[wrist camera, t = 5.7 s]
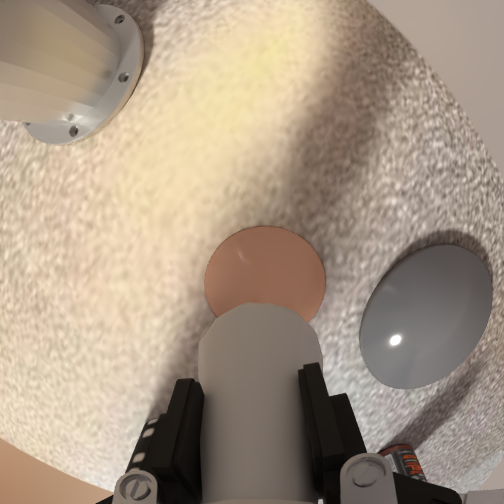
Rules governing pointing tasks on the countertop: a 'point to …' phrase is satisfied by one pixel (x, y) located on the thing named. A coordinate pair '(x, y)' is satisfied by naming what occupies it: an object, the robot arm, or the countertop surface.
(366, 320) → the slate plate
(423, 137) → the countertop surface
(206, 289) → the terracotta spot
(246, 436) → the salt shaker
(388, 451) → the supplement bottle
